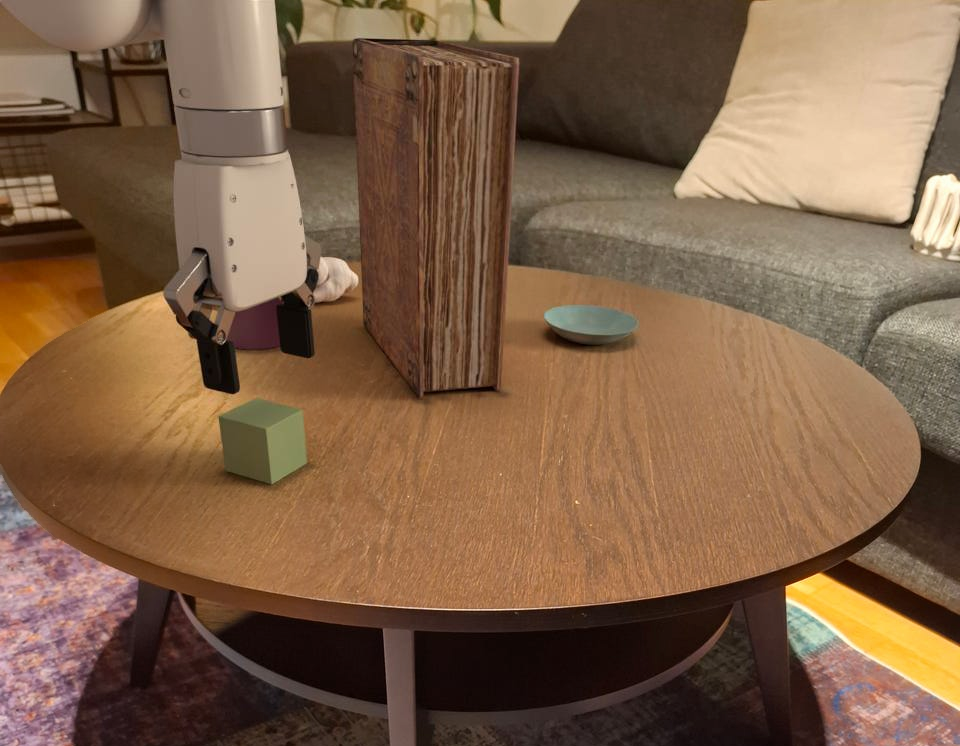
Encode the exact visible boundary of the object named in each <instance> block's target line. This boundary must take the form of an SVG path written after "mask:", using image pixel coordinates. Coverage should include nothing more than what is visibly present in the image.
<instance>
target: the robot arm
mask: <svg viewBox="0 0 960 746" xmlns="http://www.w3.org/2000/svg"><path fill="white" fill-rule="evenodd" d="M0 4H1V5H2V6H3V7H4V8H6V10H7V11H8V12H9V13H10V14H11V15H12V16H13V17H14V18H16V20H18V21H19V22H20V23H21V24H22V25H23V26H24V27H26V28H27V29H28V30H30V31H31V32H32V33H34V34H35V35H37V36H38V37H40V38H41V39H43V41H46V42H48V43H50V44H52V45H54V46H56V47H58V48H61V49H63V50H67V51H72V52H77V53H78V52H79V53H84V52H85V53H87V52H94V51H95V52H96V51H100V50H106V49H112V48H119V47H120V48H121V47H125V46H129V45H133V44H140V43H147V42H155V41H162V40H163V43H164V50H165V58H166V63H167V70H168V76H169V83H170V84H169V85H170V89H171V90H170V91H171V96H172V102H173V103H172V104H173V109H174V116H175V123H176V130H177V134H178V142H179V149H180V155H181V158H180V159H178V160H174V170H173V215H174V231H175V242H176V243H175V244H176V251H177V261H178V268H179V269H178V271H177V272H176V273H175V274H174V276H173V277H172V278H171V279H170V281H169V282H168V283H167V284H166V286H165V287H164V288H163V291H162V295H163V298H164V299H165V302H166V303H167V305H168V306H169V308H170V310H171V311H172V313H173V314H174V315H175V320H176V323H177V324H178V325H179V326H181V328H183V329H184V330H185V331H186V332H187V334H188V337H189V338H190V339H192V340H195V341H196V346H197V353H198V359H199V364H200V372H201V377H202V383H203V386H204V387H205V388H206V389H208V390H212V391H216V392H220V393H223V394H224V393H225V394H229V395H235V394H238V393H240V389H241V385H240V377H239V369H238V362H237V356H236V355H237V354H236V348H235V347H234V344H233V342H231V341H227V337H228V334H229V331H230V328H231V325H232V322H233V319H234V316H235V313H236V312H237V311H242V310H245V309H248V308H251V307H254V306H256V305H259V304H262V303H264V302H267V301H270V300H272V299H275V298H277V297H278V298H279V299H280V300H281V302H282V303H284V305H283V304H278V305H276V308H277V321H278V330H279V339H280V346H279V347H280V351H281V353H283V354H286V355H289V356H295V357H300V358H304V359H311V358H313V357H314V356H315V355H316V353H315V340H314V329H313V318H312V308H313V307H314V306H315V304H316V303H315V296H314V294H313V292H314V290H315V287H316V285H317V282H318V279H319V274H318V271H317V269H318V268H319V263H320V258H321V257H322V253H323V247H322V244H321V243H320V242H318V241H317V240H314V239H313V238H311V237H309V236H308V235H306V234H305V227H304V226H305V225H304V219H303V213H302V206H301V200H300V195H299V190H298V184H297V179H296V175H295V171H294V167H293V163H292V159H291V158H292V157H291V155H290V152H289V145H288V135H287V134H288V133H287V123H286V122H287V121H286V113H285V105H284V104H285V101H284V100H285V99H284V90H283V89H284V88H283V80H282V78H283V77H282V68H281V60H280V59H281V58H280V46H279V35H278V24H277V23H278V22H277V12H276V2H275V0H0ZM221 297H222V298H223V299H220V298H221ZM213 311H216V312H217V311H218V314H217V313H216V316H215V320H214V322H213V321H212V320H211V319H210V318H211V315H212V312H213Z"/></svg>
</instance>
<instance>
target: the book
mask: <svg viewBox="0 0 960 746" xmlns="http://www.w3.org/2000/svg"><path fill="white" fill-rule="evenodd" d="M351 42H352V65H353V66H352V67H353V69H352V70H353V90H354V91H353V92H354V93H353V94H354V114H355V115H354V116H355V117H354V119H355V120H354V121H355V143H356V166H357V168H356V169H357V170H356V171H357V194H358V197H357V198H358V217H359V218H358V220H359V221H358V222H359V246H360V269H361V270H360V271H361V292H362V293H361V295H362V296H361V297H362V320H363V321H362V322H363V327H364V328H365V329H366V331H367V332H368V333H369V335H370V336H371V338H372V339H373V340H374V342H375V343H376V344H377V345H378V347H379V348H380V349H381V351H382V352H383V353H384V355H385V356H386V358H387V359H388V361H390V363H391V364H392V366H393V367H394V368H395V370H396V372H398V373H399V375H400V376H401V378H402V379H403V380H404V382H405V383H406V385H407V386H408V387H409V388H410V390H411V391H412V392H413V394H414V395H415V396H416V398H417V399H418V400H422V399H423V398H424V393H429V392H439V391H440V392H441V391H451V390H462V389H474V388H485V387H491V388H493V390H494V391H496V392H498V391H501V390H502V379H503V363H504V362H503V361H504V343H505V329H506V328H505V327H506V309H507V308H506V307H507V291H508V275H509V274H508V272H509V257H510V254H509V253H510V240H511V239H510V237H511V220H512V219H511V217H512V201H513V184H514V183H513V182H514V167H515V165H514V164H515V148H516V147H515V146H516V129H517V110H518V95H519V78H520V77H519V76H520V75H519V74H520V58H519V57H517V56H511V55H506V54H502V53H498V52H492V51H488V50H483V49H478V48H473V47H467V46H464V45H458V44H453V43H448V42H443V41H439V40H432V39H403V38H402V39H401V38H400V39H399V38H398V39H397V38H366V37H358V38H356V37H355V38H353V40H352V41H351Z"/></svg>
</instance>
